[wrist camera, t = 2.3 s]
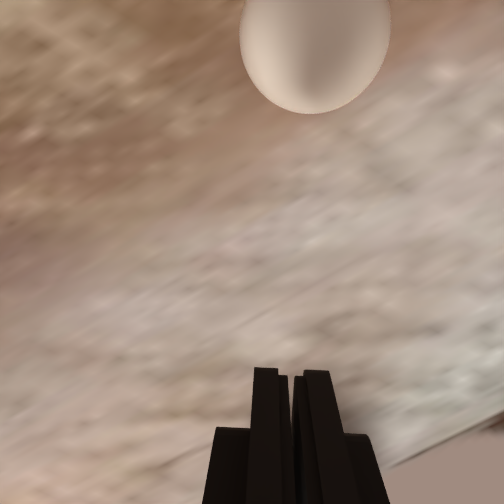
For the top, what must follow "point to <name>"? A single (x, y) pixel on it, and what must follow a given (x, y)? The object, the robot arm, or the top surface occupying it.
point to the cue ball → (313, 50)
